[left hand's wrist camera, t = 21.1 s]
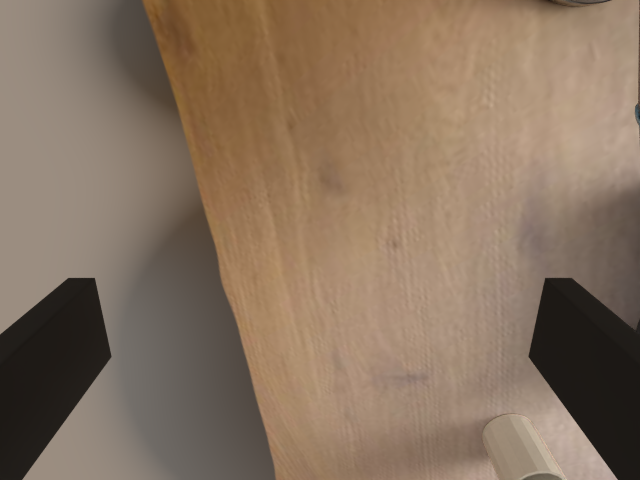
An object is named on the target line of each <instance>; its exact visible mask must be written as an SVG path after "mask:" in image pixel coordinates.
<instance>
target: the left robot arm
mask: <svg viewBox="0 0 640 480" xmlns="http://www.w3.org/2000/svg"><path fill="white" fill-rule="evenodd" d="M549 1H552V2H554V3H557V4H561V5H566V6H588V5H594V4H598V3H602V2H606V1H610V0H549ZM635 117H636V120H637V123H638V125H639V138H640V0H639V81H638V104H637V105H636V107H635ZM110 358H111V352H110V347H109V343H108V338H107V333H106V329H105V324H104V319H103V315H102V310H101V305H100V300H99V296H98V291H97V286H96V282H95V278H68V279H67V280H66V281H64V282H63V283H62V284H61V285H60V286H58V287H57V288H56V289H55V290H54V291H52V292H51V293H50V294H49V295H47V296H46V297H45V298H44V299H43V300H41V301H40V302H39V303H38V304H37V305H35V306H34V307H33V308H32V309H30V310H29V311H28V312H27V313H26V314H24V315H23V316H22V317H21V318H20V319H18V320H17V321H16V322H15V323H14V324H12V325H11V326H10V327H9V328H8V329H6V330H5V331H4V332H3V333H2V334H0V480H22V479H23V478H24V476H25V475H26V474H27V472H28V471H29V470H30V468H31V467H32V465H33V464H34V463H35V461H36V460H37V458H38V457H39V456H40V454H41V453H42V452H43V450H44V449H45V448H46V446H47V445H48V443H49V442H50V441H51V439H52V438H53V437H54V435H55V434H56V432H57V431H58V430H59V428H60V427H61V425H62V424H63V423H64V421H65V420H66V419H67V417H68V416H69V414H70V413H71V412H72V410H73V409H74V408H75V406H76V405H77V403H78V402H79V401H80V399H81V398H82V396H83V395H84V394H85V392H86V391H87V390H88V388H89V387H90V386H91V384H92V383H93V381H94V380H95V379H96V377H97V376H98V375H99V373H100V372H101V370H102V369H103V368H104V366H105V365H106V364H107V362H108V361H109V359H110ZM529 358H530V359H531V361H532V362H533V364H534V365H535V366H536V368H537V369H538V370H539V372H540V373H541V375H542V376H543V377H544V379H545V380H546V381H547V383H548V384H549V386H550V387H551V388H552V390H553V391H554V392H555V394H556V395H557V397H558V398H559V399H560V401H561V402H562V403H563V405H564V406H565V408H566V409H567V410H568V412H569V413H570V415H571V416H572V417H573V419H574V420H575V421H576V423H577V424H578V426H579V427H580V428H581V430H582V431H583V432H584V434H585V435H586V437H587V438H588V439H589V441H590V442H591V443H592V445H593V446H594V448H595V449H596V450H597V452H598V453H599V454H600V456H601V457H602V459H603V460H604V461H605V463H606V464H607V465H608V467H609V468H610V470H611V471H612V472H613V474H614V475H615V476H616V478H617V479H618V480H640V334H638V333H637V332H636V331H635V330H634V329H632V328H631V327H630V326H629V325H628V324H626V323H625V322H624V321H623V320H622V319H620V318H619V317H618V316H617V315H616V314H614V313H613V312H612V311H611V310H610V309H608V308H607V307H606V306H605V305H603V304H602V303H601V302H600V301H599V300H597V299H596V298H595V297H594V296H593V295H591V294H590V293H589V292H588V291H587V290H585V289H584V288H583V287H582V286H581V285H579V284H578V283H577V282H576V281H574V280H573V279H572V278H545V282H544V286H543V291H542V296H541V300H540V305H539V310H538V315H537V319H536V324H535V329H534V333H533V338H532V343H531V347H530V352H529Z"/></svg>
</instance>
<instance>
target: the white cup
mask: <svg viewBox="0 0 640 480" xmlns="http://www.w3.org/2000/svg"><path fill="white" fill-rule="evenodd" d="M482 441H483V444H484V446H485V449H486V451H487V453H488V456H489V458H490V460H491V463H492V465H493V467H494V469H495V472H496V474H497V476H498V479H499V480H567V479H566V477H565V475H564V474H563V472H562V470H561V469H560V467H559V466H558V464H557V462H556V461H555V459H554V457H553V456H552V454H551V452H550V451H549V449H548V447H547V446H546V444H545V442H544V441H543V439H542V437H541V436H540V434H539V432H538V431H537V429H536V427H535V426H534V425H533V423H532V422H531V421H530V420H529V419H528V418H526V417H525V416H522V415H519V414H505V415H501V416H499V417H497V418H495V419H493V420H492V421H490V422H489V423H488V424H487V425H486V426H485V428H484V430H483V433H482Z"/></svg>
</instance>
